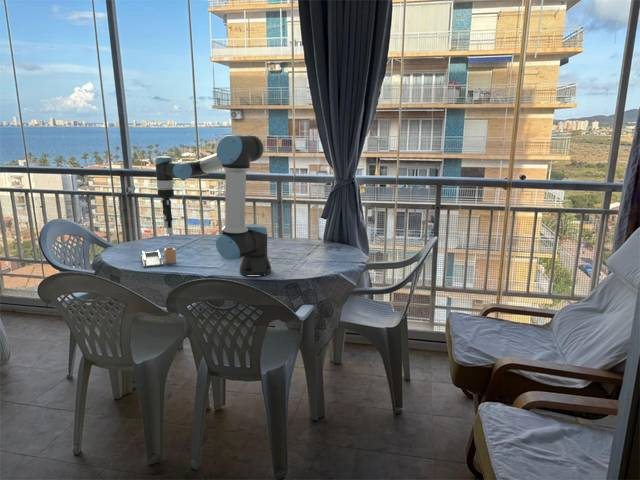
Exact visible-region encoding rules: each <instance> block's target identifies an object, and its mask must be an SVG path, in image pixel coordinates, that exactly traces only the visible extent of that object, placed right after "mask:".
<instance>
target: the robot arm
mask: <svg viewBox="0 0 640 480" xmlns="http://www.w3.org/2000/svg"><path fill="white" fill-rule="evenodd" d="M215 150H216V151H215V153H214V154H211V155H209V156H206V157H203V158H201V159H197V160H192V161H191V160H190V161H173V159H172V157H171V156H162V155H161V156H156V157H155V174H156V188H157V197H159V198H162V199H161V204H162V213H163V228H164V229H165V230H166V235H173V234H174V232H173V231H174V230H173V214H172V201H171V199H170V198H172V197H173V198H174V196H175V190H174V184H175V181H174V179H180V180H182V179H183V180H186V179H189V178H192V177H199V176H200V177H204V176H207V175H210V174H211V173H213V172H216V171H219V170H222V169H223V170H224V171H225V193H224V194H225V195H224V196H225V199H224V200H225V201H224V202H225V203H224V205H225V206H224V208H225V209H224V212H225V214H224V215H225V217H224V221H225V222H224V223H225V224H224V226H223V227H221V235H219V236H218V237H217V239H216V240H215V247H216V251H217V252H218V254H219V255H220V256H221V257H222V259H223V258H224V260H228V261H230V260H231V261H232V260H237V259H240V258H241V257H242V259H241V263H240V265H239V274H240V273H241V274H240V275H242V274H244V275H264V274H268V273H270V272H271V273H272V266H271V262H270V260H269V257H268V228H267V227H266V226H264V225H260V224H248V223H247V224H246V190H247V189H246V188H247V186H246V185H247V181H246V180H247V172H248V170H249V169H250V167H251V165H250V164H251V163H252V162H256V161H258V160H260V159H261V158H262V156H263V153H264V143H263V142H262V140H261V138H259V137H257V136H256V135H253V134H228V135H224V136H223V137H221V139H219V141H217V145H216V149H215ZM271 273H270V274H271ZM244 275H243V276H244ZM268 275H269V274H268Z"/></svg>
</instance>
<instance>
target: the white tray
mask: <svg viewBox="0 0 640 480" xmlns="http://www.w3.org/2000/svg"><path fill="white" fill-rule="evenodd" d="M141 259H142V266H143V268H145V269H147V268H153V267H155V268H156V267H163V266H164V262H163V260H162V255H161V253H160V250H159V249H157V250H155V251H148V252H145V251H144V250H142V254H141Z"/></svg>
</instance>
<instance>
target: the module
mask: <svg viewBox="0 0 640 480" xmlns="http://www.w3.org/2000/svg"><path fill="white" fill-rule="evenodd" d="M163 249H164V250H163V251H164V262H165V265H167V263H169V264H176V263H177V255H176V248H175V247H166V248H163Z"/></svg>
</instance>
